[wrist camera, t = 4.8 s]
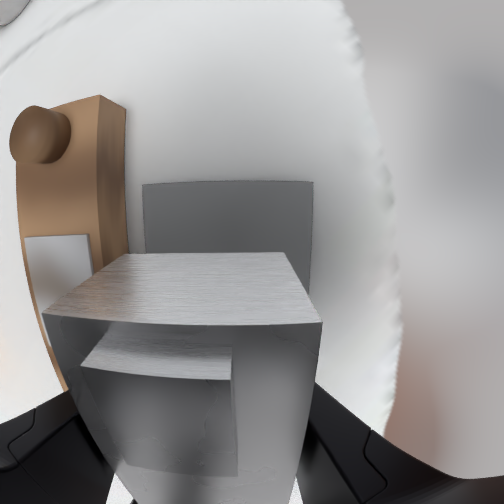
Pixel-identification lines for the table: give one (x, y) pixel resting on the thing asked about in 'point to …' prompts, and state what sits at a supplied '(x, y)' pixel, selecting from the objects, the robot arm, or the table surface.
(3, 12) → the cup
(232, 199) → the rubber mat
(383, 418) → the table surface
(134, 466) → the lever cap
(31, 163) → the hand plane
